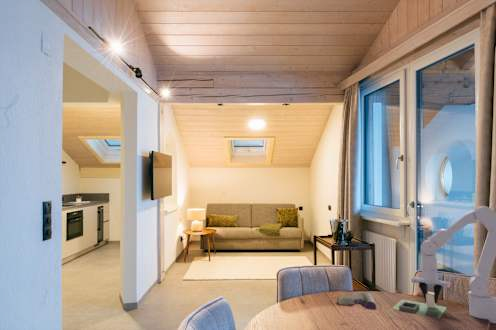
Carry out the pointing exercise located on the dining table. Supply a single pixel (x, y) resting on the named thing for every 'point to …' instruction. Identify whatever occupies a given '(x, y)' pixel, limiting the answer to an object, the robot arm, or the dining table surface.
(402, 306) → the socket
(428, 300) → the plug
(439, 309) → the circuit board
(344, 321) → the dining table surface
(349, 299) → the infrared thermometer
